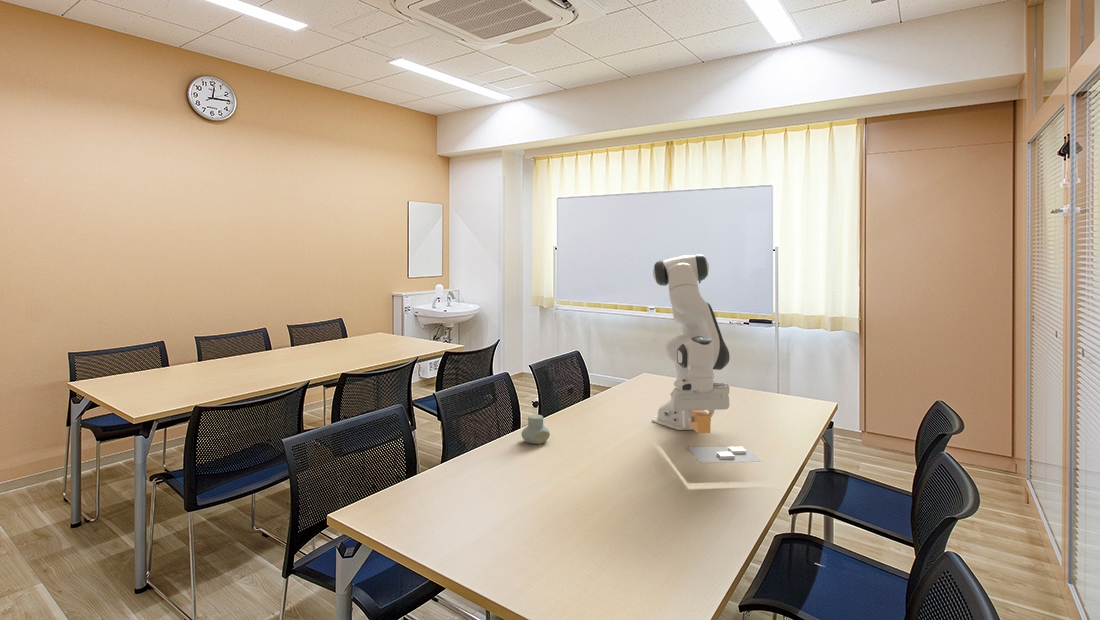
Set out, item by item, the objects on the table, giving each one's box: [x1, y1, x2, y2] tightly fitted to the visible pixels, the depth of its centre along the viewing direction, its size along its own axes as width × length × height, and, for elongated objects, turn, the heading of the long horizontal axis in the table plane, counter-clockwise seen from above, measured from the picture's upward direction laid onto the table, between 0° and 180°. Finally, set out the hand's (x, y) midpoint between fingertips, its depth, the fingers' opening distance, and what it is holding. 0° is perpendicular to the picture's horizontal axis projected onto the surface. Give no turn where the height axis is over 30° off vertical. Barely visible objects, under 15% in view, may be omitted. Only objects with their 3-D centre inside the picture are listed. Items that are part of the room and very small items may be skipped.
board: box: [686, 445, 762, 464], centre depth 194 cm, size 22×14×2 cm, turn 94°
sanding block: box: [689, 410, 712, 434], centre depth 192 cm, size 9×4×6 cm, turn 4°
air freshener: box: [521, 414, 551, 445], centre depth 210 cm, size 11×8×10 cm
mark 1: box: [717, 452, 735, 459], centre depth 192 cm, size 5×4×1 cm
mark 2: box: [727, 446, 746, 454], centre depth 197 cm, size 5×4×1 cm
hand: (699, 421), depth 192 cm, fingers closed on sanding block, 4 cm apart
